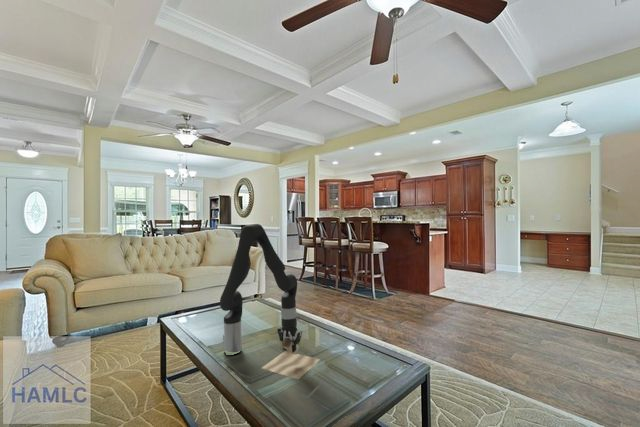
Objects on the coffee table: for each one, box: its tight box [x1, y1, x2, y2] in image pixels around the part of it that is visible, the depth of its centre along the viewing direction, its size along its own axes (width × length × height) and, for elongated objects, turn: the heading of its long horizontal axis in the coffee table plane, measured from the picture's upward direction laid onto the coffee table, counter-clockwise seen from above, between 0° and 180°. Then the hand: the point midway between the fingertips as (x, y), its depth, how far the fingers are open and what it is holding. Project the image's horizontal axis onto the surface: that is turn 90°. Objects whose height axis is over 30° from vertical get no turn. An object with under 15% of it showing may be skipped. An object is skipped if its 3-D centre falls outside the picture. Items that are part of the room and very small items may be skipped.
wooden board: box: [261, 350, 321, 380], centre depth 144 cm, size 22×20×1 cm
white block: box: [281, 338, 300, 355], centre depth 143 cm, size 4×4×9 cm
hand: (290, 350), depth 142 cm, fingers closed on white block, 4 cm apart
